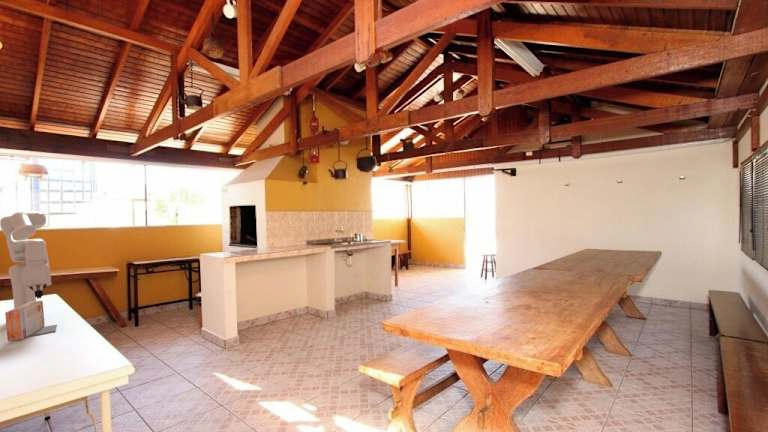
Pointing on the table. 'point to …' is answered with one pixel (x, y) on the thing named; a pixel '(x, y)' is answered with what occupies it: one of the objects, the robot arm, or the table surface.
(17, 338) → the cracker box
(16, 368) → the table surface
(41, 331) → the mat
